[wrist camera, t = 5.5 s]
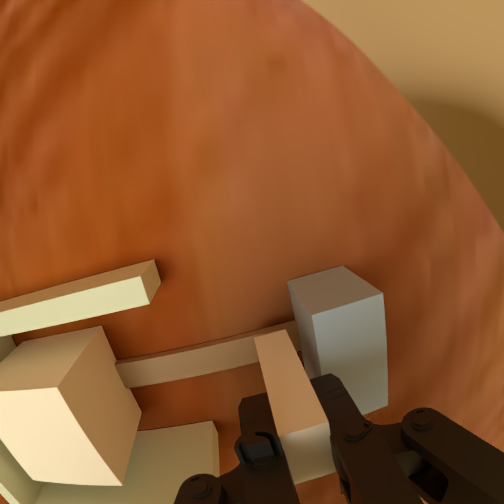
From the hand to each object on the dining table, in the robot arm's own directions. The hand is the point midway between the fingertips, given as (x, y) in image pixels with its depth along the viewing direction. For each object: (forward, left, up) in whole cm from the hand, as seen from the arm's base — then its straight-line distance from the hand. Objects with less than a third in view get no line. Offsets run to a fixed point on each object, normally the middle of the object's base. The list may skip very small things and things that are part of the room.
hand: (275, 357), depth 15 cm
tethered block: (-5, 0, -2) cm, 5 cm away
